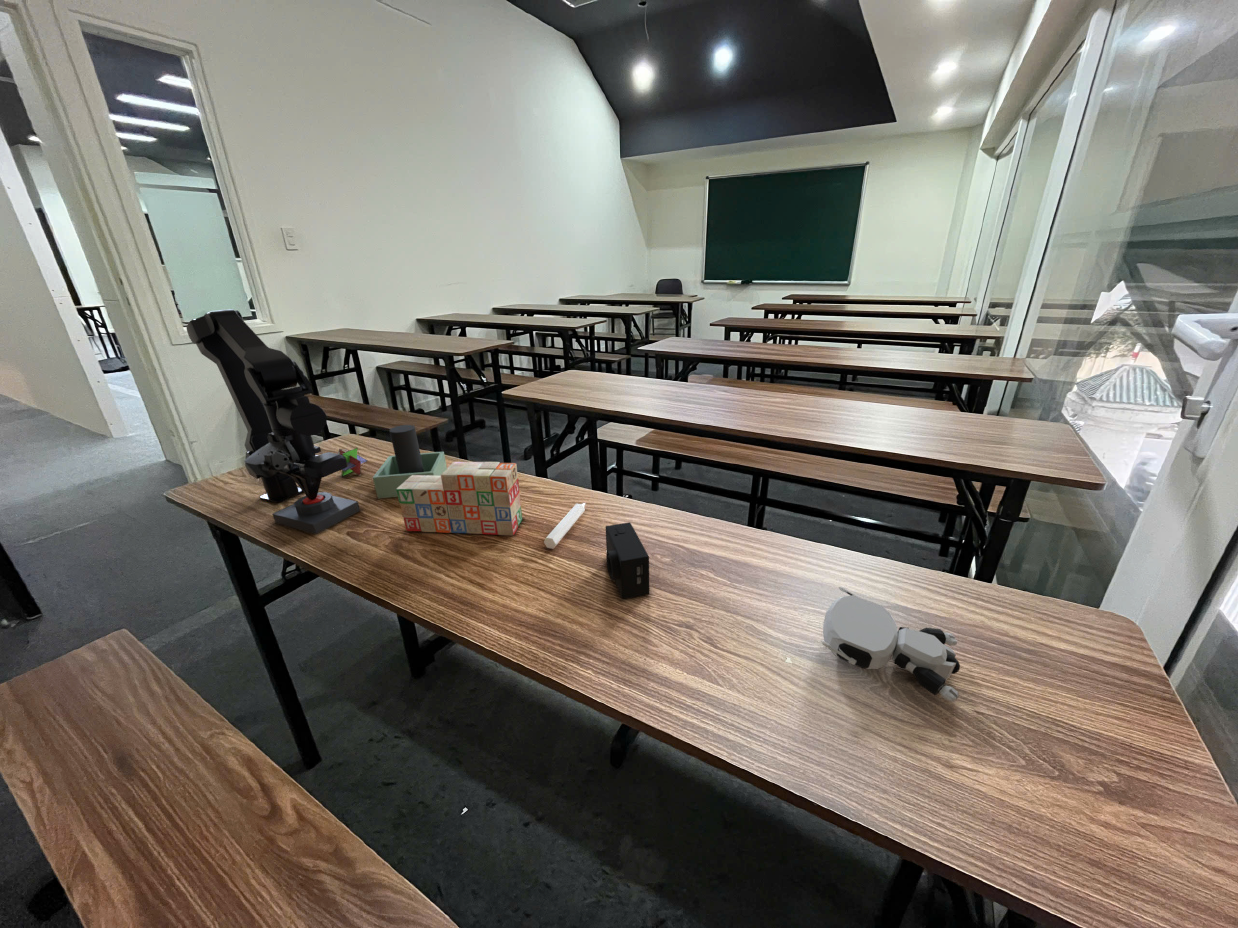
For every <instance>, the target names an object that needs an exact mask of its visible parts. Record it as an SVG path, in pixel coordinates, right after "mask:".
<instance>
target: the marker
mask: <svg viewBox="0 0 1238 928" xmlns="http://www.w3.org/2000/svg"><path fill="white" fill-rule="evenodd" d="M585 506H586V502H583V503H575V504H574V505H573V507H572V508H571V509H570V510H569V511H568V513H567V514H566V515H565V516H564V517H563V518H562V519H561V520H560V522H558V523H557V525H556V526H554V528H553V529H552V530H551V531H550V533H549V534H547V536H546V537H545V539H544V540H543V544H544V545H545V547H546V548H547V549H551V550H554V549H555V548H556V547H557V545H558V544H559V543H560V542H561V540H562V539H563V538H564V537H565V535H567V533H568V532H569V531H570V529H572V528H573V526H574V525H575V523H576V522H577V521H578V520H579V519H580V518H581V516H582V515H583V513H584V512H585V511H586V509H585Z"/></svg>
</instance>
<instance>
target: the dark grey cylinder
mask: <svg viewBox="0 0 1238 928" xmlns="http://www.w3.org/2000/svg"><path fill="white" fill-rule="evenodd" d="M388 431H389V435H390V440H391V444H392V448H393V452H394V455H395V457H396V461H397V466H398V470H399V474H407V473H419V472H424V469H423V464H422V459H421V455H420V453H421V449H420V446H419V445H420V444H419V441H418V436H417V431H416V427H415V425H413V424H402V425H397V426H394V427H391V428H390V429H389V430H388Z"/></svg>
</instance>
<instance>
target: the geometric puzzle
mask: <svg viewBox="0 0 1238 928" xmlns="http://www.w3.org/2000/svg"><path fill="white" fill-rule="evenodd" d="M358 450H359V448H358V447H354V448H352V449H350V450H349V449H348V448H339V449H338V450H337V454H341V455H343V456H345V457H346V460H347V464H348V467H346V468H344V469H342V470H341V472H340V473H341V474H340V473H339V474H340V476H341V477H345V476H347V475H348V474H354V475H352V476H355V474H356V476H361V468H362V465H363V464H367V462H368V461H369V460H368V459H367V458H365V456H364V454H362V455H363V457H362V456H361V455H360V452H359V451H358ZM365 466H366V465H364V466H363V468H365ZM353 472H354V473H353Z"/></svg>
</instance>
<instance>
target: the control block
mask: <svg viewBox="0 0 1238 928" xmlns="http://www.w3.org/2000/svg"><path fill="white" fill-rule="evenodd" d="M317 495H322V496H323V497H324V500H322V501H320V502H318V503H314V504H308V505H305V504H303V500H304V499H305V498H307V496H306V495H304V496H302V497H300V498H298V499H296V500H295V502H294V503H292V504H291V505H288V506H286V507H284V508H281V509H279V510H277V511H275V512H273V513H272V517H273V520H274V523H275V524H278V525H281V526H285V527H287V528H292V529H297V530H299V531H302V532H306V533H310V534H312V535H313V534H314V535H318V534H319V533H322V532H323V531H325V530H327V529H328V528H331V527H333V526H334V525H336V524H338V523H340V522H342V521H344V520H345V519H348V518H349V517H351V516H353V515H355V514H357V513H358V512H360V511H361V507H360V504H359V501H358V500H353V499H348V498H344V497H340V496H336V495H332V493H331V492H326V491H323V492H322V491H321V492H320V491H319V492H318V494H317Z"/></svg>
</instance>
